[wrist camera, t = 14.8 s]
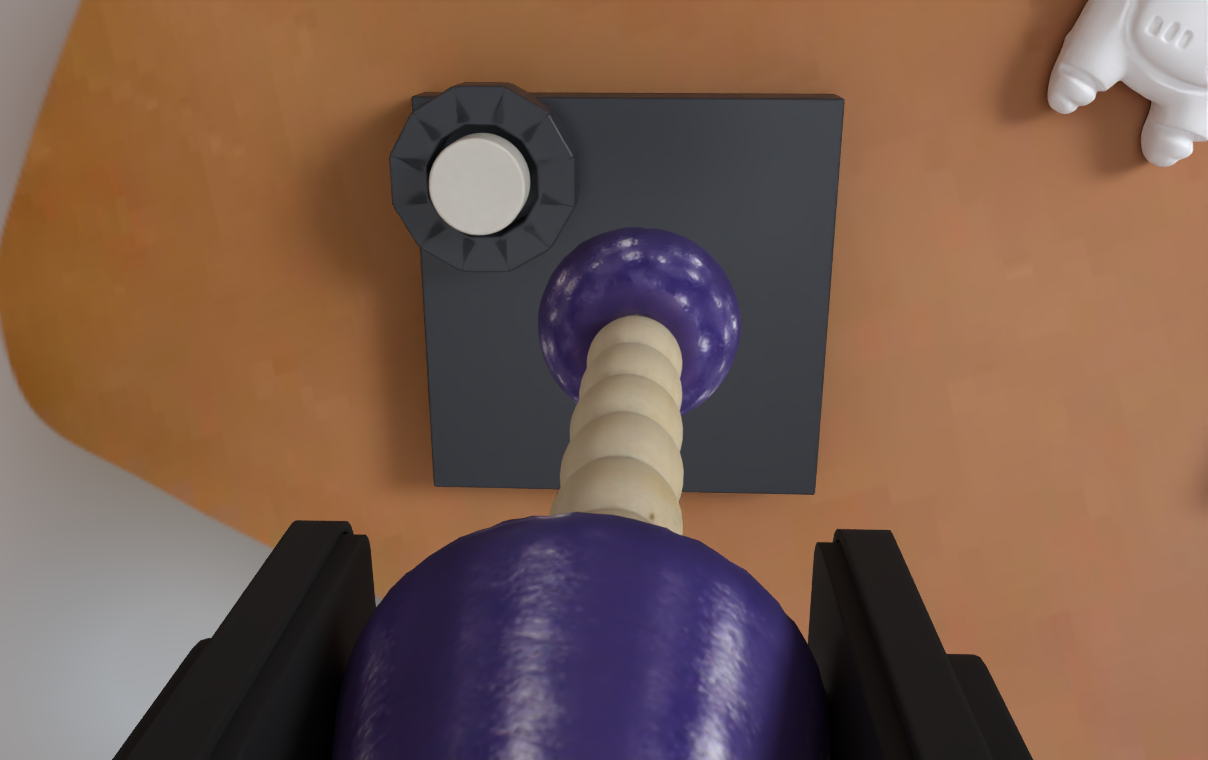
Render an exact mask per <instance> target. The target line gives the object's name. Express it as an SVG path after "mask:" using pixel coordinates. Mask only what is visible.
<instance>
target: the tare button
mask: <svg viewBox="0 0 1208 760" xmlns="http://www.w3.org/2000/svg"><path fill="white" fill-rule="evenodd" d="M529 191H530V173H529V169H528V166H527V163H526V161H525V159H524V157H523V155H522V154H521V153H520V151H519V150H518V149H517V148H516V147H515V146H514V145H513V144H512V143H511V142H509V141H508V140H506V139H504V138H502V137H500V136H497V135H495V134H490V133H474V134H469V135H466V136H464V137H462V138H460V139H458V140H456V141H455V142H453V143H452V144H450V145H449V146H448V147H446V148H445V149H444V150H443V151H442V152H441V153H440V154H439V155H438V157H437V158H436V160H435V161H434V163H433V166H432V168H431V171H430V176H429V193H430V197H431V200H432V203H433V206H434V207H435V209H436V211H437V212H438V214H439V215H440V217H441V218H442V219H443V220H444V221H445V222H446V223H447V224H449V225H450V226H451V227H453V228H454V229H456V230H458V231H460V232H463V233H466V234H471V235H488V234H492V233H495V232H498V231H500V230H502V229H504V228H505V227H507V226H508V225H509V224H510V223H511V222H512V221H513V220H514V219H515V218H516V217H517V215H518V214H519V212H520V211H521V209H522V208H523V206H524V205H525V203H526V200H527V198H528V195H529Z"/></svg>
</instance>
